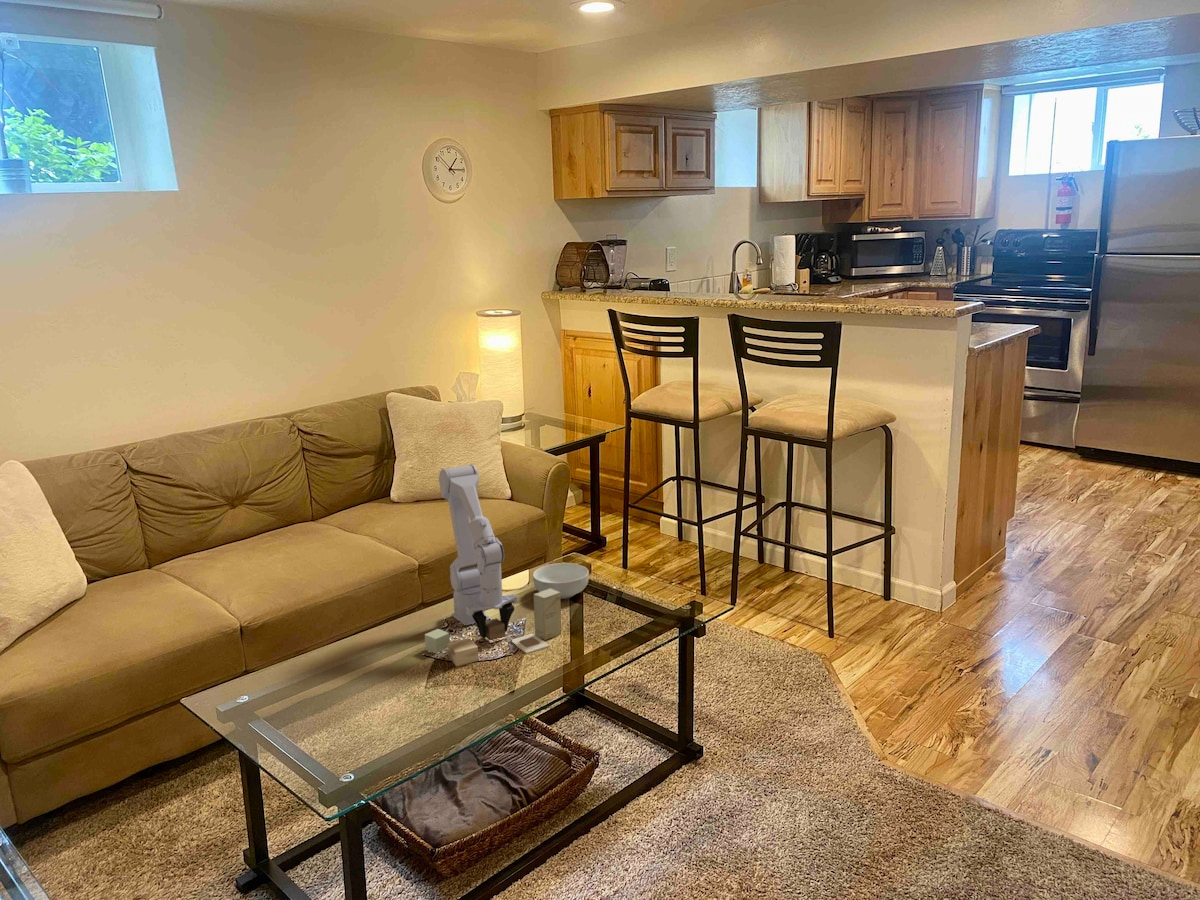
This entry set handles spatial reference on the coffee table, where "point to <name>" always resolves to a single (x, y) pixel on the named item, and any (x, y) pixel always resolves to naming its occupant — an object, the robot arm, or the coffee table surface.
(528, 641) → the card
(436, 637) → the sage cube
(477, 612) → the robot arm
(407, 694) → the coffee table surface
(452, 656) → the maple base
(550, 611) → the skincare box
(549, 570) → the cereal bowl
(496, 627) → the walnut cube
